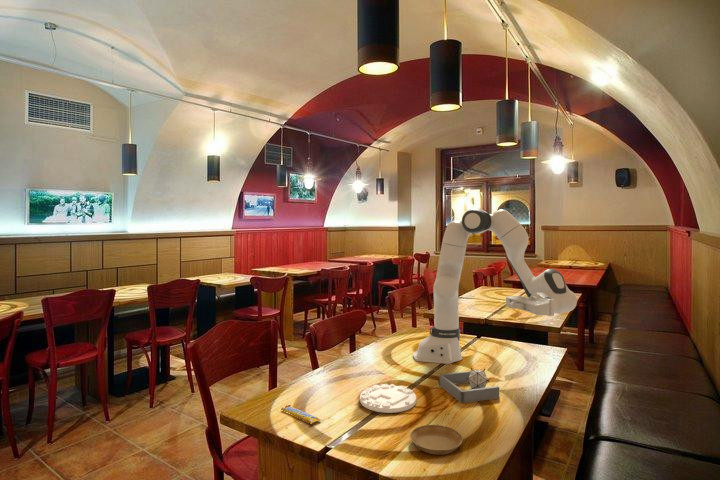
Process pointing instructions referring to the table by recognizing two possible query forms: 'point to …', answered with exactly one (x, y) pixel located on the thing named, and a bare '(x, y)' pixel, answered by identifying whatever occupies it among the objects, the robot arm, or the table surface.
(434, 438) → the plant saucer
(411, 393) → the embossed medallion
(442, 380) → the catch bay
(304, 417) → the candy bar
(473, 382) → the game die
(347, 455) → the table surface
